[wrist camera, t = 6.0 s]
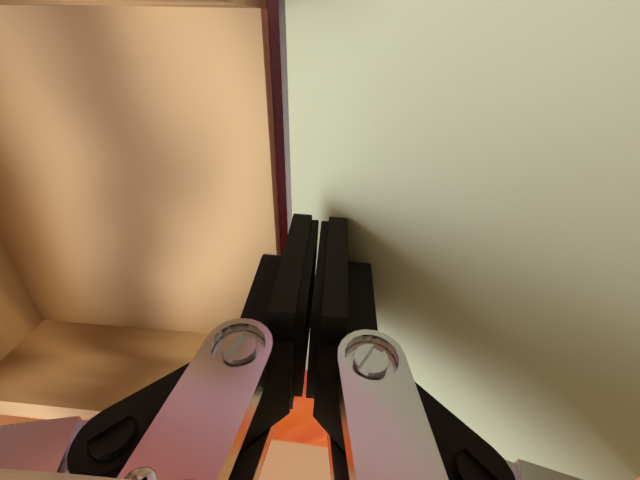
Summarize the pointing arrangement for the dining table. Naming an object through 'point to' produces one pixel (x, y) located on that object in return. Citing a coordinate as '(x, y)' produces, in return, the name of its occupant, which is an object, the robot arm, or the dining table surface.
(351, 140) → the panel
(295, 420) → the dining table surface
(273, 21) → the dining table surface
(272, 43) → the dining table surface
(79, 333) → the crate
